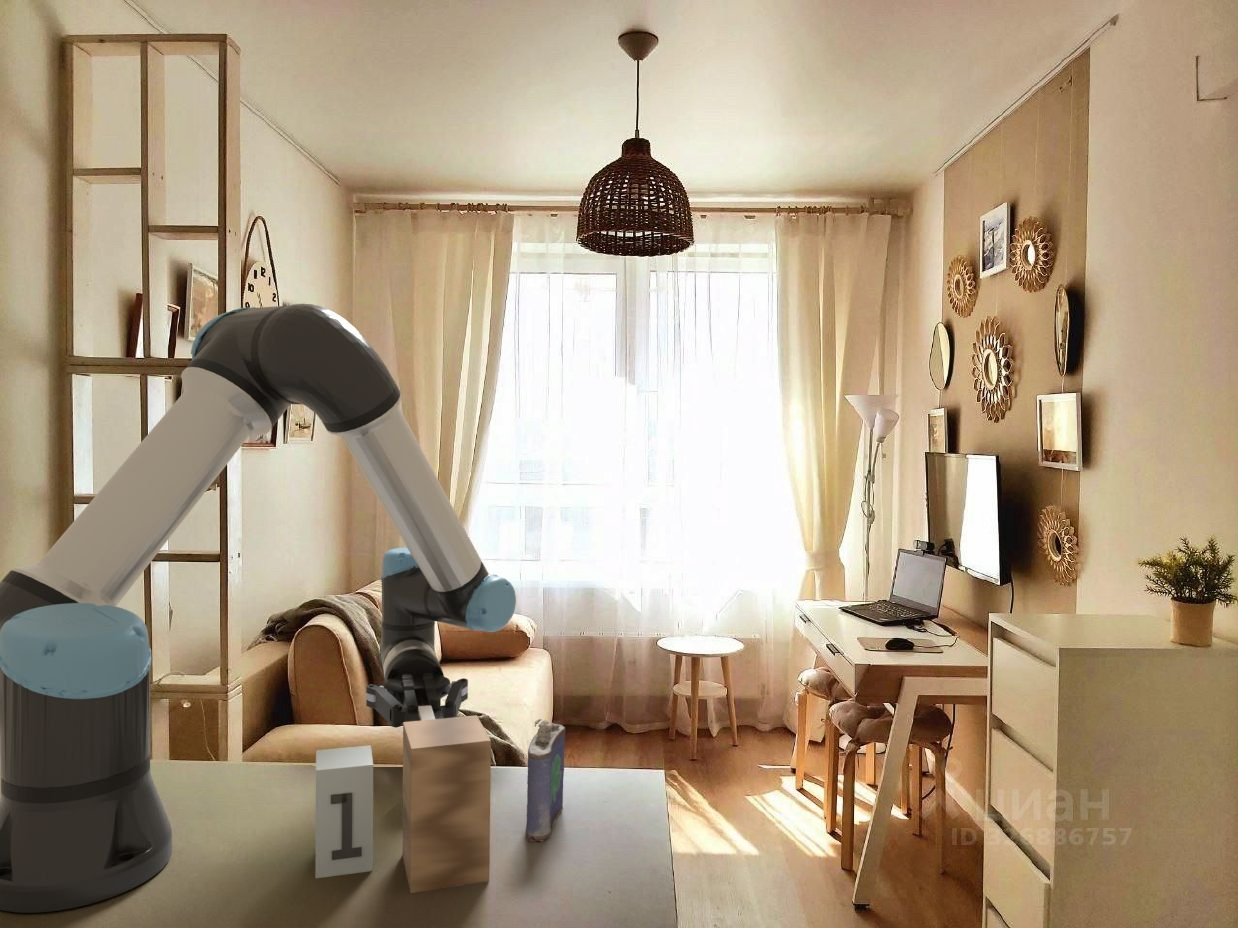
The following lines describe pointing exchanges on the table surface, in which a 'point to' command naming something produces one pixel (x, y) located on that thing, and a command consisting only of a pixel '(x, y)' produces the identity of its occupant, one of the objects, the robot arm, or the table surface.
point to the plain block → (446, 802)
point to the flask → (545, 780)
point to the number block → (344, 811)
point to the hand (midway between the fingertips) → (429, 736)
